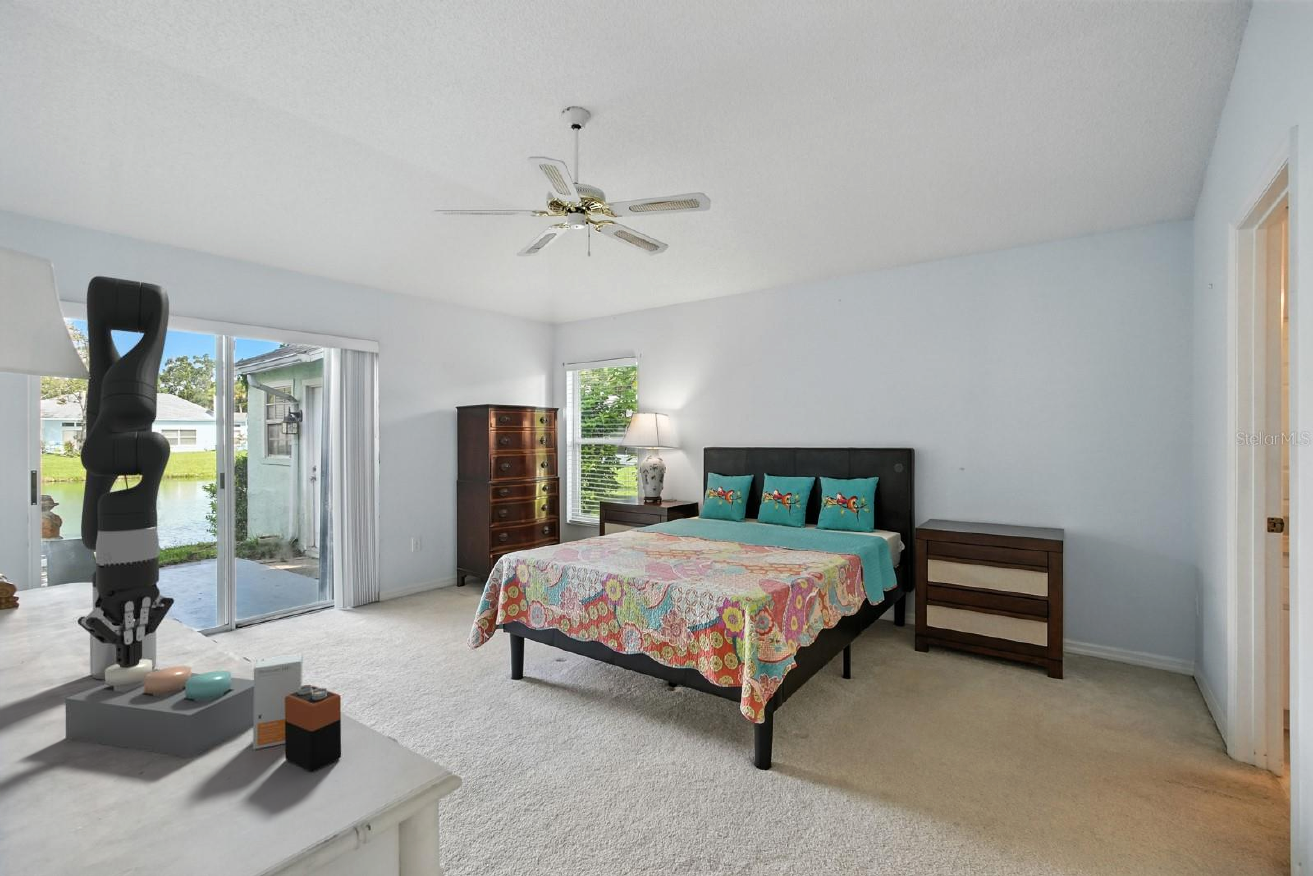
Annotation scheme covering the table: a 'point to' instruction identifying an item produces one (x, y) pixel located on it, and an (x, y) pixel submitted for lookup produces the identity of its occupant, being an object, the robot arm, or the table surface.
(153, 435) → the robot arm
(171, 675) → the knob mid
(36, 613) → the table surface
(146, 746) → the mount
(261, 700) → the skincare box
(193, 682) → the knob
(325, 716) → the battery
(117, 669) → the knob
